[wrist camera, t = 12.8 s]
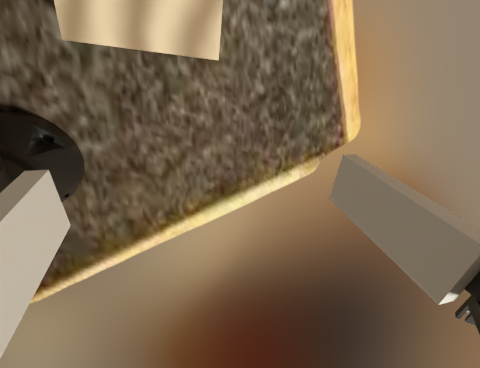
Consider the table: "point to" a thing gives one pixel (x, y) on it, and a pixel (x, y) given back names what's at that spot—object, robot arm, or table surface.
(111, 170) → the table surface
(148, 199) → the table surface
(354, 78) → the table surface
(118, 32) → the board
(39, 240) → the robot arm
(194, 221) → the table surface
